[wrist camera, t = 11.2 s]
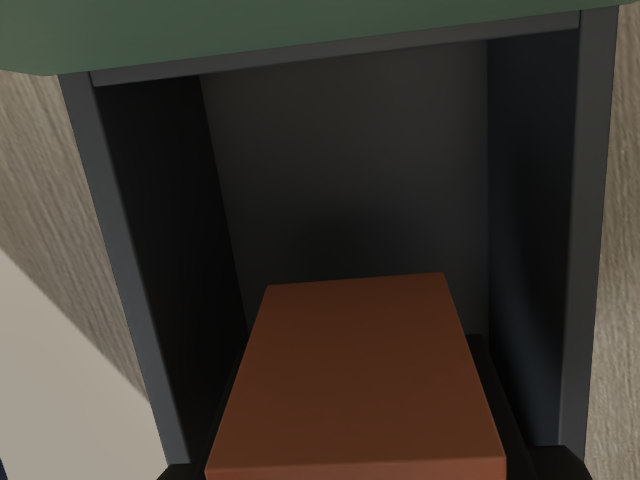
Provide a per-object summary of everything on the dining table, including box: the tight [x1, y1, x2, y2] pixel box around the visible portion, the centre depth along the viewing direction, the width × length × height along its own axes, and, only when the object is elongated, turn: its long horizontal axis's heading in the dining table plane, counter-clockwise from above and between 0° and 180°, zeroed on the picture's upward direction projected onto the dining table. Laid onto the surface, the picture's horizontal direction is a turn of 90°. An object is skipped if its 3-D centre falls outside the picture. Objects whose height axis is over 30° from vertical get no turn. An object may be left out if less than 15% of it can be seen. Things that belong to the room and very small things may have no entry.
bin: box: [57, 5, 619, 466], centre depth 19 cm, size 16×13×10 cm
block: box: [204, 272, 506, 480], centre depth 13 cm, size 5×5×7 cm
